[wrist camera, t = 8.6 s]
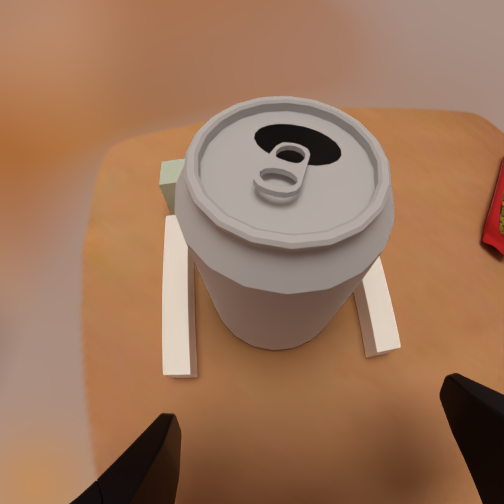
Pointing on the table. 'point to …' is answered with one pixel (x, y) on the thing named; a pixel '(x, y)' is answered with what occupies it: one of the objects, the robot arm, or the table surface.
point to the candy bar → (496, 216)
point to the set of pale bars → (183, 296)
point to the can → (283, 215)
